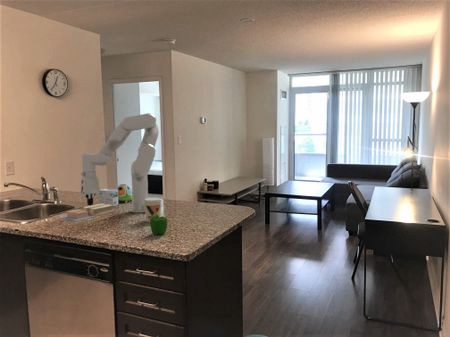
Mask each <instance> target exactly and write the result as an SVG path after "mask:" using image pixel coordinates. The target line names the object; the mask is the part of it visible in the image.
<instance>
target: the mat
mask: <svg viewBox="0 0 450 337" xmlns="http://www.w3.org/2000/svg"><path fill="white" fill-rule="evenodd" d="M95 217H96V216H92V215H88V217H84V218H79V219H76V218H71V217H67V215H63V216H59V217H58V219H63V220H67V221H70V222H79V221H83V220H88V219H93V218H95Z"/></svg>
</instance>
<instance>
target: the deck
mask: <svg viewBox="0 0 450 337" xmlns="http://www.w3.org/2000/svg"><path fill="white" fill-rule="evenodd" d="M81 210H83V211H88V215H90V216H95V217H96V216H102V215H106V214H110V213H115V206H114V205H109V204H103V203H101V204H99V203H96V204H93V205H91V206H90V205H86V206H85V205H84V206H82V208H81Z"/></svg>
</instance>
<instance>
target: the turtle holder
mask: <svg viewBox="0 0 450 337" xmlns="http://www.w3.org/2000/svg"><path fill="white" fill-rule="evenodd" d="M115 189H118V202H119V201H123V202H124V204H127V203H128V201H130V202H132V187H130V186H129V185H128V184H127V183H126V184H124V183H121V184H117V186H116V187H115Z"/></svg>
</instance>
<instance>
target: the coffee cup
mask: <svg viewBox="0 0 450 337" xmlns="http://www.w3.org/2000/svg"><path fill="white" fill-rule="evenodd" d="M144 204H145V212H144V215H145V221H146V222H148V223H150V219H151V218H154V217H156V215H155V216H154V215H153V214H158V215H159V217H161V210H162V198H160V197H148V198H146V199H145V200H144Z"/></svg>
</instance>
